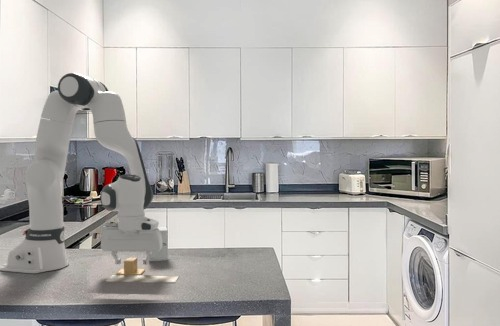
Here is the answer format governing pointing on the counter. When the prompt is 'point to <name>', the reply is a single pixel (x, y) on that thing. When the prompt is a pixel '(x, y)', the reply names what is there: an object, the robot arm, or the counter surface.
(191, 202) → the counter surface
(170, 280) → the board
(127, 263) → the stepped wooden block
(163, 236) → the supplement box
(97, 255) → the counter surface
